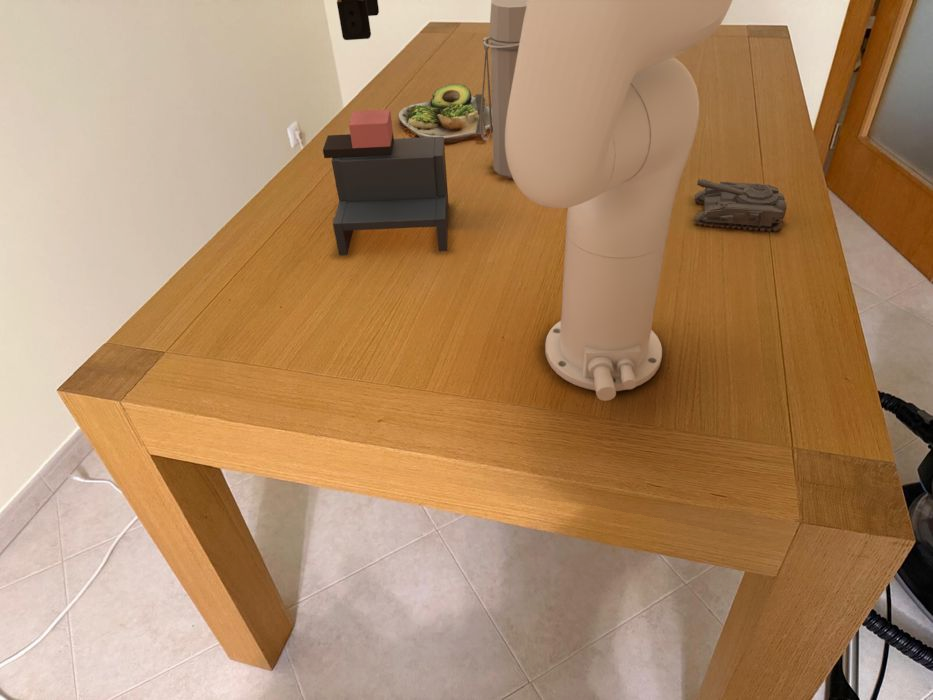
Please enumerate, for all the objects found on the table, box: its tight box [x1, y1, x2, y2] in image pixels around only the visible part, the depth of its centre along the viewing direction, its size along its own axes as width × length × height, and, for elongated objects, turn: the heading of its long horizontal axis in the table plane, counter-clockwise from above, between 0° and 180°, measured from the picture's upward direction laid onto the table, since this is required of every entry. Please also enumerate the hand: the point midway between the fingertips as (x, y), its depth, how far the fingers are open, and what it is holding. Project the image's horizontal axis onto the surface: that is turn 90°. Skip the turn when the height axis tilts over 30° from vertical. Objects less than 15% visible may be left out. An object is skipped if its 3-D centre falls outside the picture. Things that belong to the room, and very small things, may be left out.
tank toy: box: [694, 178, 788, 232], centre depth 94 cm, size 12×10×5 cm
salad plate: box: [397, 83, 493, 144], centre depth 122 cm, size 19×18×5 cm
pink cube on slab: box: [322, 108, 395, 159], centre depth 91 cm, size 9×5×4 cm, turn 90°
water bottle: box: [480, 0, 528, 180], centre depth 101 cm, size 9×8×25 cm
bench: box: [331, 137, 450, 256], centre depth 93 cm, size 12×15×11 cm
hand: (362, 26), depth 81 cm, fingers open, 9 cm apart
